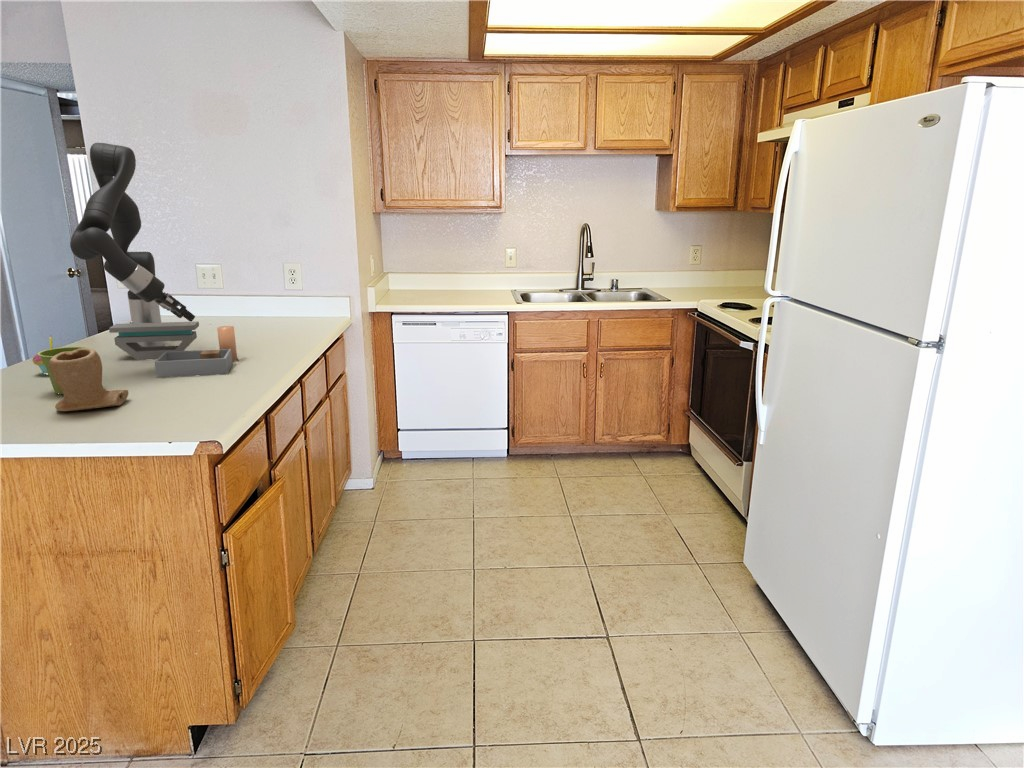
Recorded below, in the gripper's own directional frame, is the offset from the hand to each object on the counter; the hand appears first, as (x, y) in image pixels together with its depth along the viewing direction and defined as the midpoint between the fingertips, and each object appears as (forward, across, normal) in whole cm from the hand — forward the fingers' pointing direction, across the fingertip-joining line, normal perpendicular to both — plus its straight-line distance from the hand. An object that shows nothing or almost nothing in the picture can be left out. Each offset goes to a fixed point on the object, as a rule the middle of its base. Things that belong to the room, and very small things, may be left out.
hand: (187, 317), depth 201 cm
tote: (+10, -6, +12) cm, 17 cm away
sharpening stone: (+9, +21, +13) cm, 26 cm away
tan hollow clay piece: (-14, -29, +36) cm, 48 cm away
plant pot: (-14, -8, +36) cm, 39 cm away
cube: (+12, -9, +9) cm, 17 cm away
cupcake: (-13, +18, +35) cm, 41 cm away
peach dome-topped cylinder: (+19, 0, +3) cm, 19 cm away
